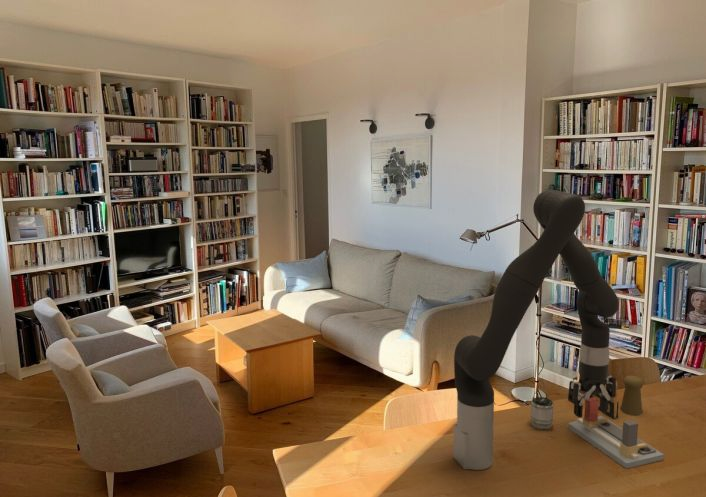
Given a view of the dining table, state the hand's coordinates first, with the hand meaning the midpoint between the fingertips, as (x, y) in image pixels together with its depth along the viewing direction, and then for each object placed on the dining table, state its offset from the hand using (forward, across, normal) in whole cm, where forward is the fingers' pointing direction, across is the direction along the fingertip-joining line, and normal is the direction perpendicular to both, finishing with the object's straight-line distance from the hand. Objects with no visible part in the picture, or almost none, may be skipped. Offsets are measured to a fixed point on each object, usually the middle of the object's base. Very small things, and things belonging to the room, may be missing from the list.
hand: (590, 413), depth 152 cm
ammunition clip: (+6, +14, +10) cm, 18 cm away
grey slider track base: (+6, +2, -6) cm, 9 cm away
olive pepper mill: (+6, +22, +7) cm, 23 cm away
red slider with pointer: (+4, +2, 0) cm, 4 cm away
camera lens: (+6, -10, +9) cm, 15 cm away
